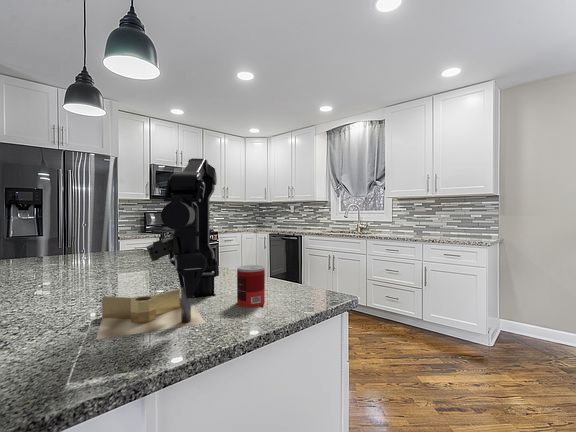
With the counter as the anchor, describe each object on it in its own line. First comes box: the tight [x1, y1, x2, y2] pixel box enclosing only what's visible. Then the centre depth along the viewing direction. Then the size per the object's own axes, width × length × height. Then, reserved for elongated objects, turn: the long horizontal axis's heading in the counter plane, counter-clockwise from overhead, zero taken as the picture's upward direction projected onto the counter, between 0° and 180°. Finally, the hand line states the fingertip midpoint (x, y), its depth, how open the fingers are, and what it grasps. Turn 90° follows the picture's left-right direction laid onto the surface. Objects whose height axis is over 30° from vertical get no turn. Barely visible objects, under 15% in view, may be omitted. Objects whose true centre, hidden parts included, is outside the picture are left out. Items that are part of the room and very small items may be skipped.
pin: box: [180, 287, 192, 323], centre depth 75 cm, size 2×2×8 cm
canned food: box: [236, 264, 266, 308], centre depth 90 cm, size 8×8×11 cm
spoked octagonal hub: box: [101, 288, 180, 324], centre depth 78 cm, size 18×9×5 cm, turn 116°
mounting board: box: [95, 304, 207, 341], centre depth 76 cm, size 22×16×1 cm
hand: (186, 293), depth 75 cm, fingers open, 9 cm apart
